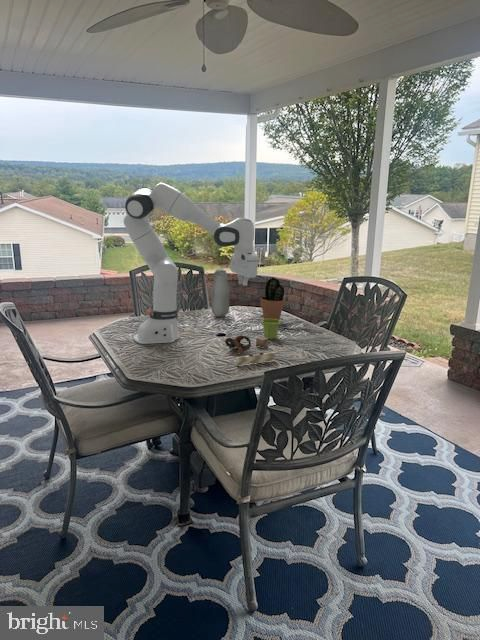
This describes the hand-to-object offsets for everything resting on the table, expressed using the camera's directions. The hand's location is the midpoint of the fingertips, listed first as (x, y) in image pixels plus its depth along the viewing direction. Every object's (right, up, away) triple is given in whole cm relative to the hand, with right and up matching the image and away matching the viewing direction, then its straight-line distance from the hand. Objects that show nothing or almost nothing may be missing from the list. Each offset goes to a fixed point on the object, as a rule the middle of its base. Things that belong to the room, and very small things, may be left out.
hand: (242, 284), depth 210 cm
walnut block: (+9, -29, +6) cm, 31 cm away
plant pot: (+14, -25, +20) cm, 35 cm away
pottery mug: (-2, -31, -1) cm, 31 cm away
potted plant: (+17, -17, +52) cm, 57 cm away
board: (+5, -35, -18) cm, 40 cm away
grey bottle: (-13, -15, +58) cm, 61 cm away
